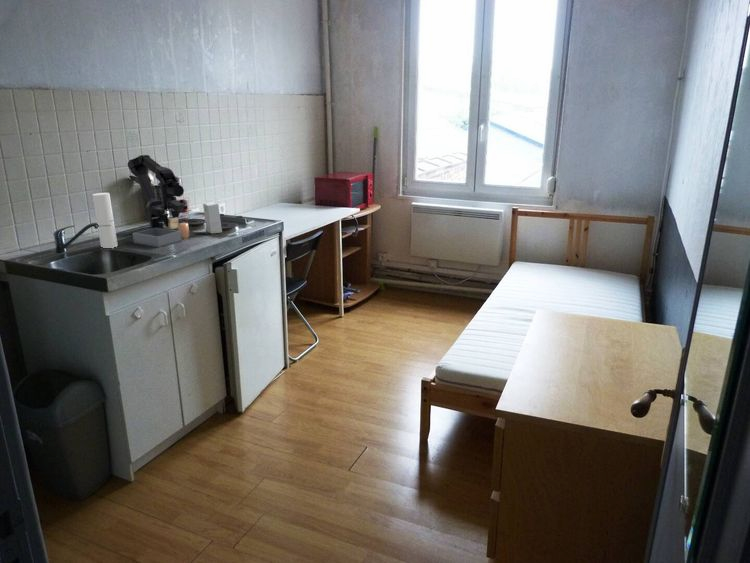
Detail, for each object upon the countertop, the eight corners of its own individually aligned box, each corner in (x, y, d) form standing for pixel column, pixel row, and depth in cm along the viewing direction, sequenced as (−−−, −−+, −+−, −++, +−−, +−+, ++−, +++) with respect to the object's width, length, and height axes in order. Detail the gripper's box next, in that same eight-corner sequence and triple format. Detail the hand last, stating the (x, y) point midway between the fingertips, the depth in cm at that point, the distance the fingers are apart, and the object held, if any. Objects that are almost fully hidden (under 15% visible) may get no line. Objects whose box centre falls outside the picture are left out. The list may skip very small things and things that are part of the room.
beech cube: (164, 228, 287) (163, 218, 285) (172, 226, 291) (171, 216, 289) (171, 229, 284) (170, 219, 283) (179, 227, 289) (177, 217, 287)
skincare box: (222, 232, 291) (219, 204, 287) (210, 234, 288) (207, 205, 284) (216, 229, 298) (214, 201, 294) (205, 231, 295) (202, 202, 290)
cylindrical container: (121, 245, 268) (112, 193, 260) (109, 249, 261) (101, 195, 253) (109, 244, 270) (100, 192, 262) (97, 248, 263) (88, 194, 256)
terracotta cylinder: (177, 238, 281) (175, 224, 279) (184, 236, 285) (183, 222, 283) (184, 239, 279) (182, 225, 277) (191, 237, 283) (190, 223, 281)
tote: (133, 243, 272) (132, 233, 270) (156, 237, 283) (155, 227, 281) (158, 247, 263) (157, 237, 262) (181, 241, 275) (180, 231, 273)
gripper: (163, 199, 271) (167, 230, 276) (193, 193, 286) (196, 223, 291) (148, 197, 276) (152, 228, 281) (178, 191, 292) (181, 221, 297)
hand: (171, 225), depth 287 cm, fingers closed on beech cube, 5 cm apart
